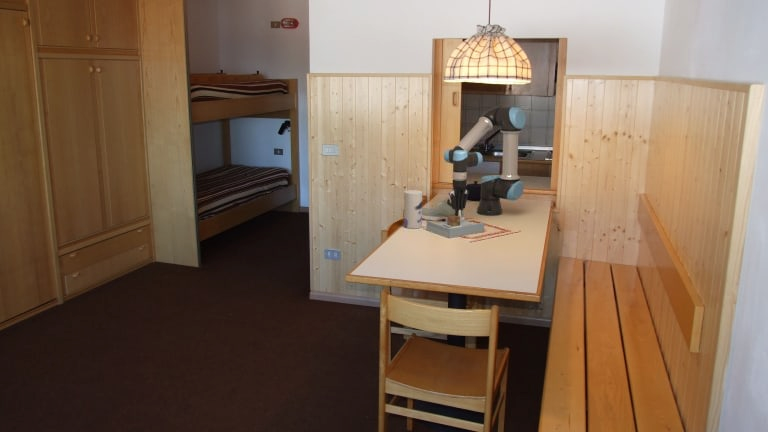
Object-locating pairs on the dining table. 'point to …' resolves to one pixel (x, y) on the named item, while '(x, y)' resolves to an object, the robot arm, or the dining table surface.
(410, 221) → the container
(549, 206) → the dining table surface
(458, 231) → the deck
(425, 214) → the running shoe
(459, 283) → the dining table surface
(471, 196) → the teapot
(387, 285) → the dining table surface
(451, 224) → the block
